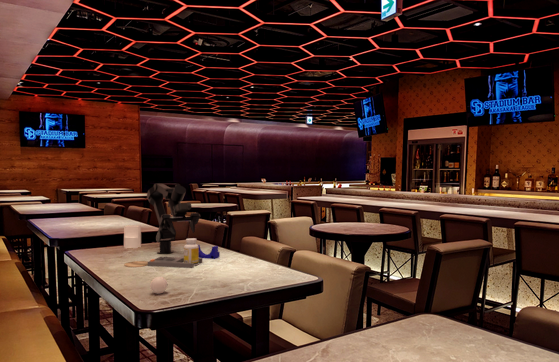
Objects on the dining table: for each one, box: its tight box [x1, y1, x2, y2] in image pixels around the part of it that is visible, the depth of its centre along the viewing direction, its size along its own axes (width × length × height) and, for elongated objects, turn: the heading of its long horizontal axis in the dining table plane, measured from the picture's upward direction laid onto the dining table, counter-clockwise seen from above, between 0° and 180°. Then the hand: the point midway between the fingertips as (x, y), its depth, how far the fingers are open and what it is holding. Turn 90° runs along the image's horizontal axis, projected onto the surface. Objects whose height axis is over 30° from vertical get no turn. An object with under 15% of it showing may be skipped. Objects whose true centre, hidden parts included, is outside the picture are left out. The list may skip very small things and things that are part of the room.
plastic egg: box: [149, 276, 168, 295], centre depth 136 cm, size 8×6×6 cm
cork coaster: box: [124, 260, 149, 268], centre depth 180 cm, size 11×11×1 cm
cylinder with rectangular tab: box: [123, 224, 142, 249], centre depth 224 cm, size 9×9×12 cm
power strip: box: [147, 256, 203, 269], centre depth 181 cm, size 12×21×2 cm, turn 80°
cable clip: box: [197, 244, 220, 260], centre depth 196 cm, size 12×4×6 cm, turn 68°
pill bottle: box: [183, 237, 200, 267], centre depth 179 cm, size 6×6×12 cm
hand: (184, 233), depth 186 cm, fingers open, 9 cm apart
